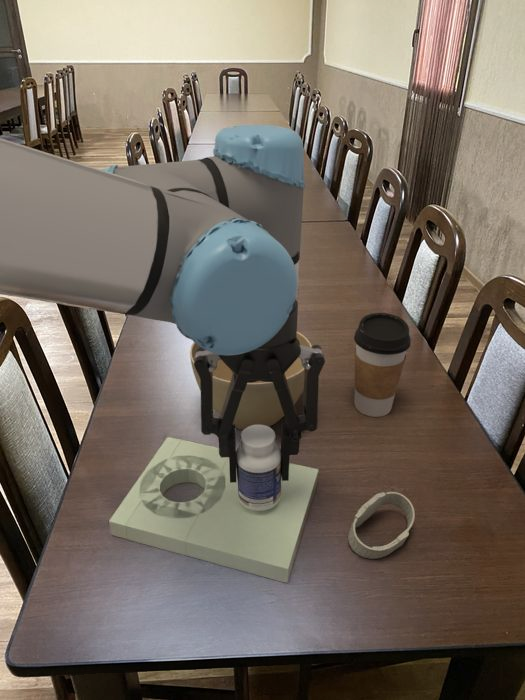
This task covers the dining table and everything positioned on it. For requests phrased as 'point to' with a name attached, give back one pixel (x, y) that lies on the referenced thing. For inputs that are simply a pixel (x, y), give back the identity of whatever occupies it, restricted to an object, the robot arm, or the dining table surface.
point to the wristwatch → (368, 510)
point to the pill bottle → (258, 468)
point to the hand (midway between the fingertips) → (258, 473)
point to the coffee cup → (379, 361)
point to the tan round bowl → (254, 392)
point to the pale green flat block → (215, 512)
